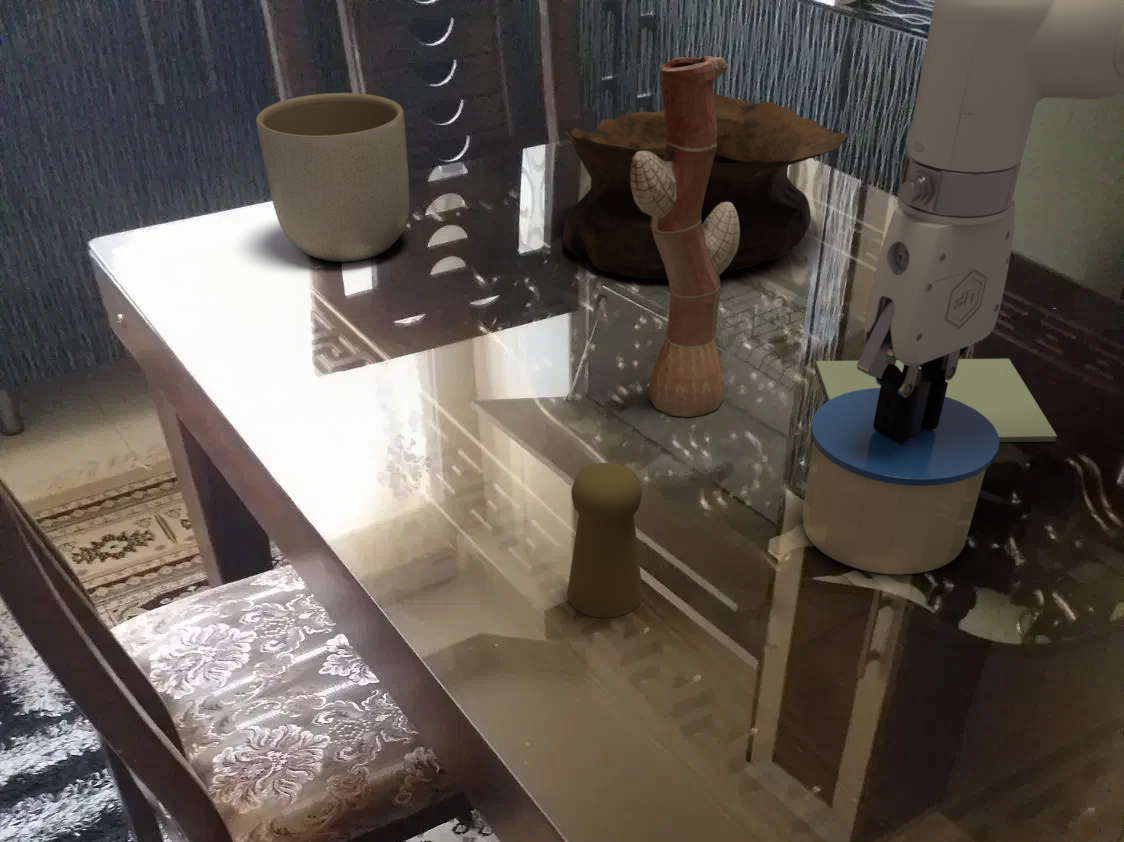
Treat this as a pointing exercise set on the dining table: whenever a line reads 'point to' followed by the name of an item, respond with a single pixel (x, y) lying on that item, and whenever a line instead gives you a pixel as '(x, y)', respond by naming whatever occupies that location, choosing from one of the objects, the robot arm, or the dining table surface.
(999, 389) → the mat
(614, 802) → the dining table surface
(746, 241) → the bowl
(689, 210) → the vase
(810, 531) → the pot
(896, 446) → the lid
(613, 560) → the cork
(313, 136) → the planter
